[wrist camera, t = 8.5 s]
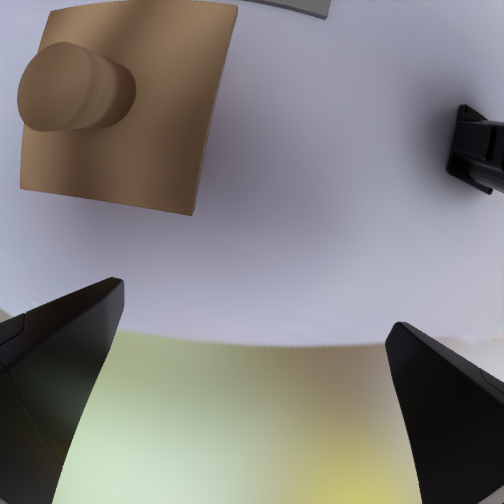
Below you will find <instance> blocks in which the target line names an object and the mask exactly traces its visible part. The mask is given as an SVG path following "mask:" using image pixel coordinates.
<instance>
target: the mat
mask: <svg viewBox="0 0 504 504" xmlns="http://www.w3.org/2000/svg"><path fill="white" fill-rule="evenodd" d="M246 1H252V2H258V3H263V4H268V5H273V6H277V7H282V8H286V9H290V10H294V11H298V12H302V13H305V14H309V15H312V16H316V17H319V18H322V19H326V18H327V16H328V11H329V6H330V1H331V0H246Z"/></svg>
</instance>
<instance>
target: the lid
mask: <svg viewBox="0 0 504 504" xmlns="http://www.w3.org/2000/svg"><path fill="white" fill-rule="evenodd" d="M237 15H238V5H231V4H223V3H214V2H204V1H190V0H127V1H114V2H104V3H95V4H88V5H81V6H75V7H69V8H64V9H59V10H54V11H51V12H50V15H49V17H48V20H47V23H46V26H45V29H44V32H43V36H42V39H41V42H40V46H39V49H38V53H37V55H36V56H35V57H34V58H33V59H32V60H31V61H30V63H29V64H28V66H27V67H26V69H25V71H24V73H23V75H22V78H21V81H20V84H19V88H18V95H17V103H18V110H19V113H20V116H21V118H22V120H23V122H24V128H23V138H22V150H21V168H20V189H24V190H31V191H39V192H46V193H53V194H59V195H66V196H73V197H80V198H86V199H93V200H99V201H105V202H112V203H118V204H124V205H130V206H136V207H142V208H148V209H154V210H160V211H166V212H171V213H177V214H183V215H189V216H191V215H192V213H193V212H194V210H195V204H196V198H197V192H198V186H199V180H200V175H201V169H202V164H203V159H204V153H205V148H206V143H207V138H208V133H209V128H210V124H211V119H212V114H213V110H214V105H215V101H216V96H217V92H218V88H219V83H220V79H221V75H222V71H223V67H224V63H225V59H226V55H227V51H228V47H229V44H230V40H231V36H232V32H233V29H234V25H235V22H236V18H237Z"/></svg>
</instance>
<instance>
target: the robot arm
mask: <svg viewBox="0 0 504 504" xmlns="http://www.w3.org/2000/svg"><path fill="white" fill-rule="evenodd" d="M464 108H465V111H464ZM452 167H453V171H451V170H452ZM447 173H448V174H449V175H451V176H453V177H455V178H457V179H459V180H461V181H463V182H465V183H467V184H469V185H471V186H473V187H475V188H477V189H479V190H480V191H482V192H484V193H486V194H488V195H490V194H492V192H493V189H495V190H498V191H500V192H503V193H504V122H497V121H489V120H487V119H486V118H485V117H483V116H482V115H481V114H479V113H478V112H476V111H475V110H474V109H472V108H471V107H469V106H468V105H466V104H462V105H460V107H459V113H458V119H457V124H456V129H455V134H454V139H453V144H452V148H451V152H450V157H449V161H448V165H447ZM488 189H489V190H488ZM123 309H124V281H123V280H122V279H119V278H114V277H110V278H107V279H105V280H102V281H100V282H97V283H95V284H92V285H90V286H87V287H85V288H82V289H80V290H77V291H75V292H73V293H70V294H68V295H65V296H63V297H60V298H58V299H56V300H53V301H51V302H48V303H46V304H44V305H41V306H39V307H37V308H34V309H32V310H30V311H27V312H26V314H25V313H22V314H20V315H18V316H16V317H13V318H11V319H8V320H6V321H4V322H1V323H0V504H52V501H53V498H54V494H55V491H56V488H57V484H58V481H59V477H60V474H61V472H62V469H63V468H62V466H63V465H64V462H65V459H66V456H67V453H68V450H69V448H70V445H71V442H72V439H73V436H74V434H75V431H76V428H77V426H78V423H79V421H80V418H81V416H82V413H83V411H84V408H85V406H86V403H87V401H88V398H89V396H90V394H91V391H92V389H93V386H94V384H95V382H96V380H97V377H98V375H99V373H100V370H101V368H102V366H103V364H104V362H105V359H106V357H107V355H108V352H109V350H110V348H111V345H112V342H113V339H114V336H115V333H116V330H117V327H118V324H119V321H120V318H121V315H122V312H123ZM385 348H386V352H387V357H388V361H389V366H390V371H391V376H392V380H393V384H394V387H395V390H396V394H397V397H398V401H399V404H400V408H401V411H402V415H403V418H404V422H405V426H406V430H407V434H408V438H409V442H410V446H411V450H412V454H413V458H414V463H415V468H416V472H417V477H418V481H419V488H420V494H421V498H422V504H504V382H502V381H500V380H499V379H497V378H495V377H494V376H492V375H490V374H489V373H487V372H486V371H484V370H482V369H481V368H478V367H477V366H476V365H474V364H473V363H471V362H470V361H468V360H466V359H465V358H463V357H462V356H460V355H458V354H457V353H455V352H454V351H452V350H451V349H449V348H447V347H446V346H444V345H443V344H441V343H439V342H438V341H436V340H435V339H433V338H431V337H430V336H428V335H426V334H425V333H423V332H422V331H420V330H418V329H417V328H415V327H413V326H412V325H410V324H409V323H407V322H396V323H395V324H394V326H393V328H392V330H391V331H390V333H389V335H388V337H387V339H386V342H385Z"/></svg>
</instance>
